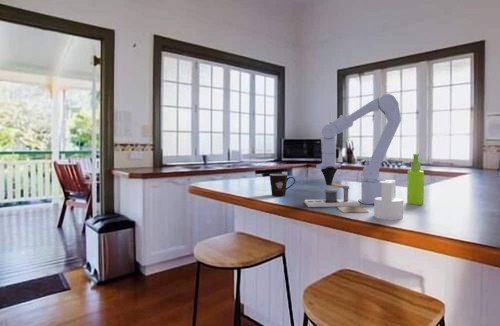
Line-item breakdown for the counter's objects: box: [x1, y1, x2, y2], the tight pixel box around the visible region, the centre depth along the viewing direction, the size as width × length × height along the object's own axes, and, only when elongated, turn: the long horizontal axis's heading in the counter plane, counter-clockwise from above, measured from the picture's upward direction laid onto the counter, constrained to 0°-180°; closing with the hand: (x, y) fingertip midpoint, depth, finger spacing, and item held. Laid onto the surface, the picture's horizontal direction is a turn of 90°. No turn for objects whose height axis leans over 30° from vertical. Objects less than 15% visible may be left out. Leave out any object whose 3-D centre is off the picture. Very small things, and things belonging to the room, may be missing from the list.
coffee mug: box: [269, 173, 296, 197], centre depth 160 cm, size 12×9×10 cm
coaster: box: [336, 206, 369, 214], centre depth 124 cm, size 9×9×1 cm
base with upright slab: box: [373, 179, 404, 221], centre depth 113 cm, size 9×9×12 cm
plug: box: [324, 188, 338, 203], centre depth 136 cm, size 5×5×6 cm
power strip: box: [304, 189, 360, 208], centre depth 136 cm, size 20×9×6 cm, turn 89°
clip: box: [328, 182, 350, 190], centre depth 140 cm, size 12×3×1 cm, turn 23°
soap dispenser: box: [406, 153, 425, 206], centre depth 135 cm, size 6×7×20 cm
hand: (328, 185), depth 144 cm, fingers closed
